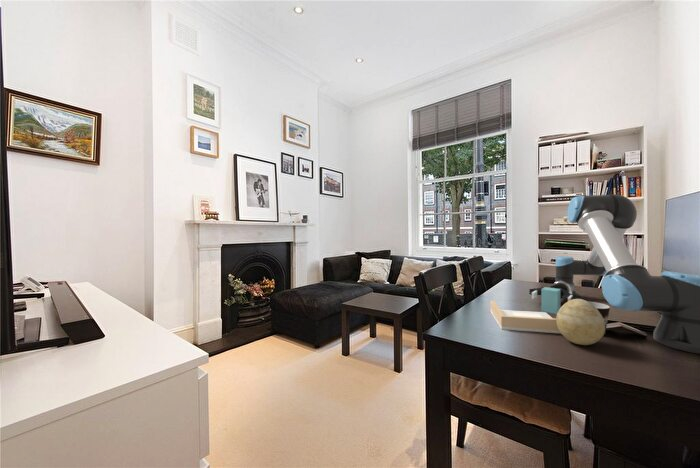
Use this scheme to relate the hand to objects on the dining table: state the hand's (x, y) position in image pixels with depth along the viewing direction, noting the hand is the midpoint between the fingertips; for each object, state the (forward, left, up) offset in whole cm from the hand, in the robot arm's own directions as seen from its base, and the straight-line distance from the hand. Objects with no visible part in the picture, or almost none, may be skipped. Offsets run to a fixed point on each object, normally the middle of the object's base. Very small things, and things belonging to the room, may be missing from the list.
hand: (550, 298), depth 128 cm
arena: (-17, +15, -6) cm, 23 cm away
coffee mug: (-24, -4, -6) cm, 25 cm away
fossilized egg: (-36, +4, -6) cm, 36 cm away
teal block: (0, 0, -6) cm, 6 cm away
